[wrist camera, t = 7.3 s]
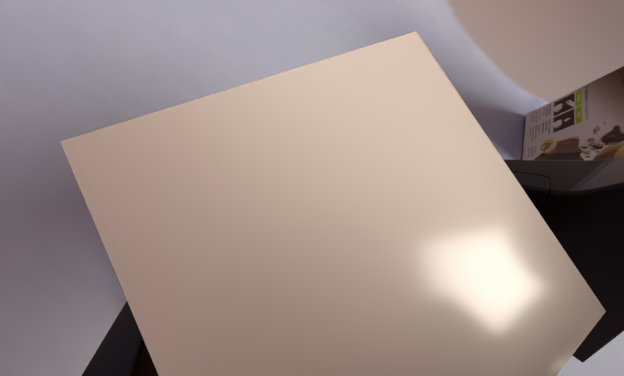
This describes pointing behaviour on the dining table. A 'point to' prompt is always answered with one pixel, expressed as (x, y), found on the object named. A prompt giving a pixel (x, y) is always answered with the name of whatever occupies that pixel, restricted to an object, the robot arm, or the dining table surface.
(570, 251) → the robot arm
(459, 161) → the tall peach block
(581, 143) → the coffee box
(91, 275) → the dining table surface
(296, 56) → the dining table surface
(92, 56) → the dining table surface
